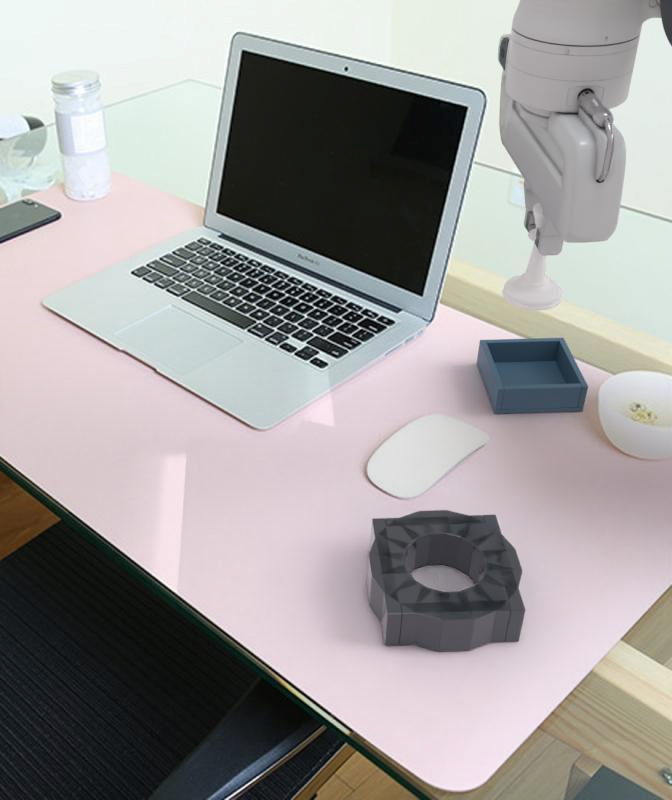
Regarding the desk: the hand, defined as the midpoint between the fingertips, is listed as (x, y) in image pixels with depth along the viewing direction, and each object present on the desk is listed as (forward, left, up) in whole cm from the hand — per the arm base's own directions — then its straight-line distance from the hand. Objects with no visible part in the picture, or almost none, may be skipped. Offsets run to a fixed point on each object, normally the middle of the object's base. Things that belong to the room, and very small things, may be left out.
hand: (541, 241), depth 78 cm
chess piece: (0, 0, -5) cm, 5 cm away
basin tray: (-4, -8, -21) cm, 23 cm away
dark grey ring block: (+10, +19, -21) cm, 30 cm away
